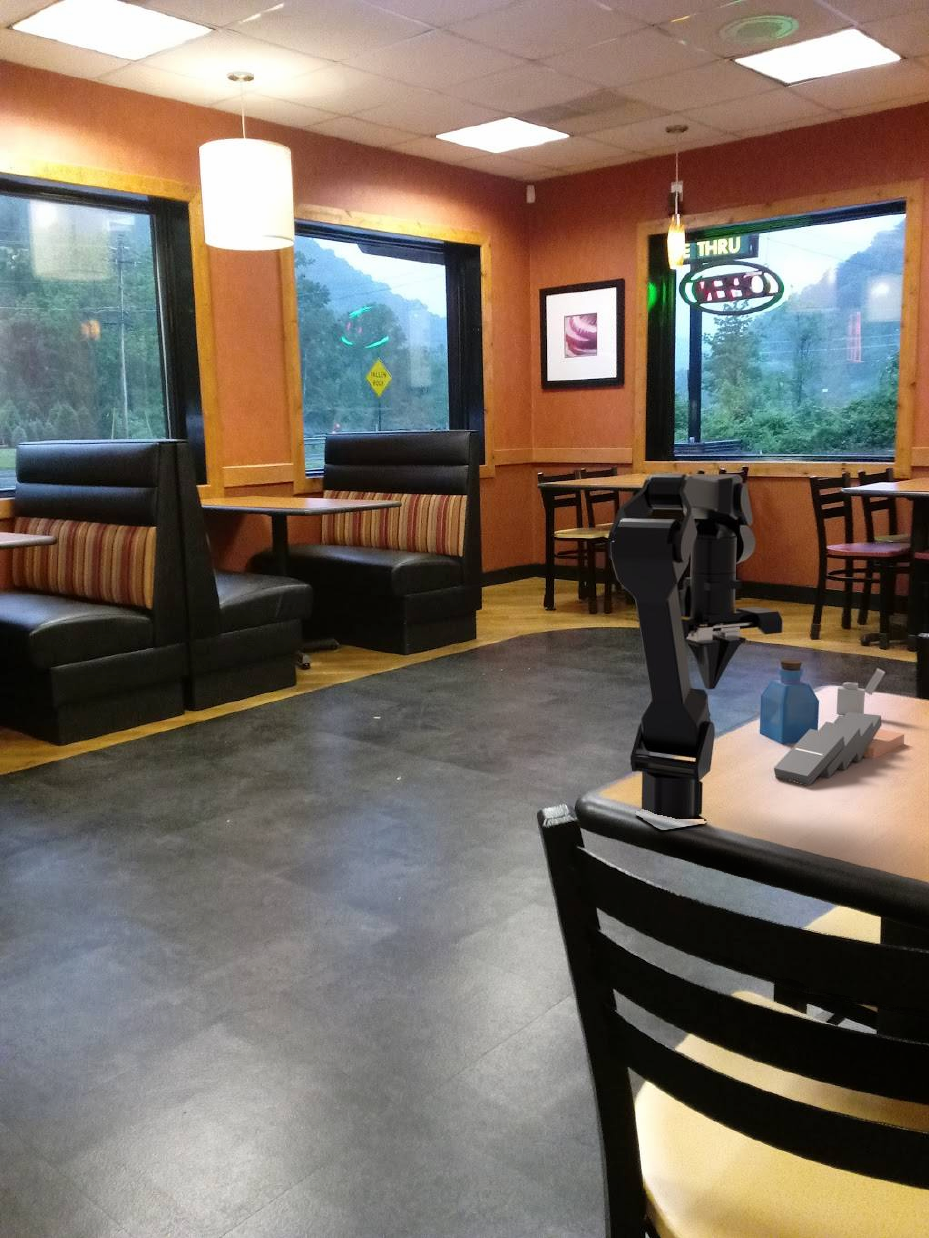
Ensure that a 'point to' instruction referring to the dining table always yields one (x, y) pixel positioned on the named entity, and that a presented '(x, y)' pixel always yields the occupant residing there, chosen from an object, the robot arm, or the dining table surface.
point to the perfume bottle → (788, 705)
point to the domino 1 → (809, 756)
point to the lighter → (856, 695)
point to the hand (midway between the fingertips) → (709, 688)
